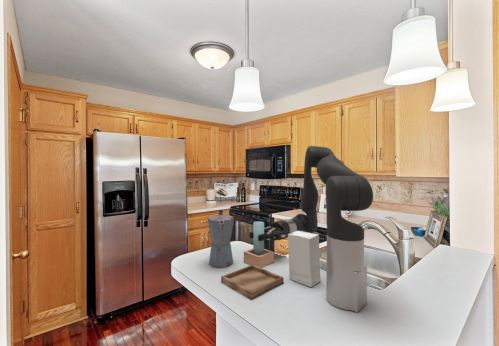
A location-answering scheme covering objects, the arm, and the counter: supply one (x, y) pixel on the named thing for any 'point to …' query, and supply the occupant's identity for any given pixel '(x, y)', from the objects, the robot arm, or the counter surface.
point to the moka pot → (220, 239)
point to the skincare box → (304, 258)
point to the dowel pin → (257, 245)
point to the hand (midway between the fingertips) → (254, 237)
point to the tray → (252, 281)
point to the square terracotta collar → (259, 258)
